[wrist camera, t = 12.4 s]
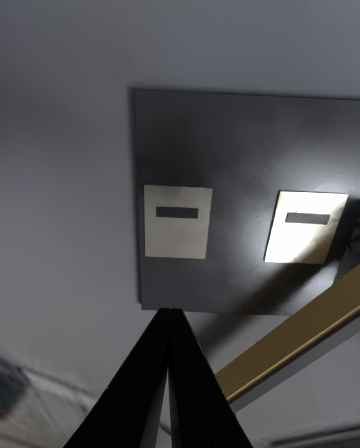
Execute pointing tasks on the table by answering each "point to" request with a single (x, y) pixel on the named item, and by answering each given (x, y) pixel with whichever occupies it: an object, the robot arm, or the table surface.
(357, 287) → the swing arm
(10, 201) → the table surface
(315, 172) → the panel
